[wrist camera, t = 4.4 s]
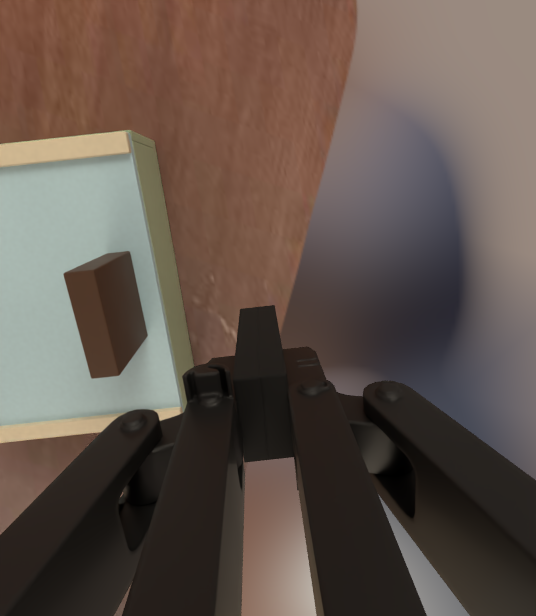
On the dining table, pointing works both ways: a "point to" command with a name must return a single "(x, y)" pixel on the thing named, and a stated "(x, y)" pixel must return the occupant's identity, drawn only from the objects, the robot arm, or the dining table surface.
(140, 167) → the green open storage box
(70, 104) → the dining table surface
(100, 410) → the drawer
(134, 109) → the dining table surface
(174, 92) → the dining table surface
